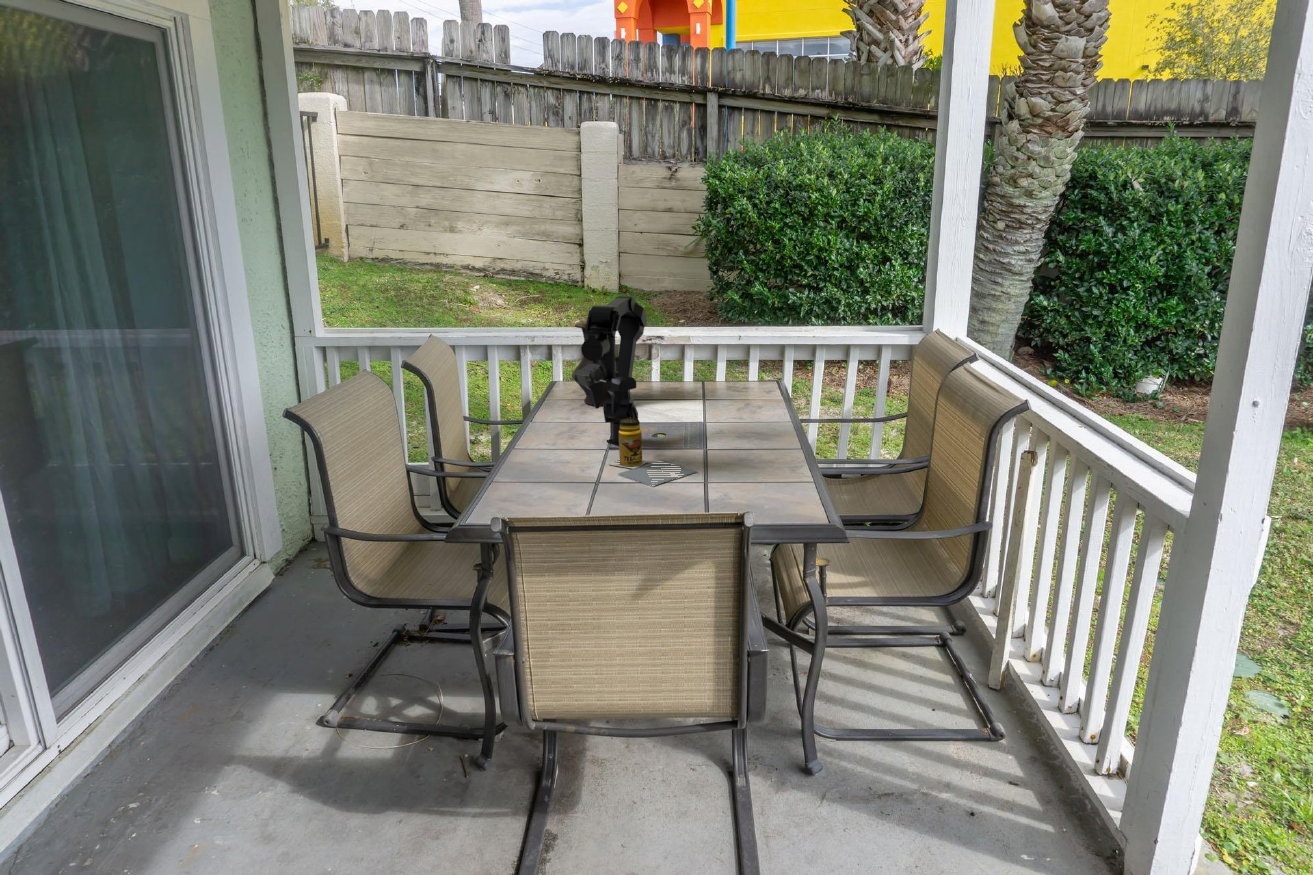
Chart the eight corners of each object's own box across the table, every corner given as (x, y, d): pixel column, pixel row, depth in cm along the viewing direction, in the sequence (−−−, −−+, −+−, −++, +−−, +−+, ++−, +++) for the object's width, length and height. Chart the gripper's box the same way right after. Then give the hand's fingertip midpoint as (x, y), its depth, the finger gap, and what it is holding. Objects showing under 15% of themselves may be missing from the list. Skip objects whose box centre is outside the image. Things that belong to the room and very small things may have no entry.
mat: (617, 474, 229) (617, 473, 229) (661, 461, 240) (661, 460, 240) (652, 486, 220) (652, 485, 220) (697, 472, 231) (697, 471, 231)
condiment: (635, 469, 232) (633, 424, 229) (607, 465, 236) (606, 421, 233) (649, 461, 238) (648, 418, 235) (622, 458, 242) (620, 415, 239)
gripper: (558, 352, 236) (560, 409, 241) (605, 363, 224) (606, 423, 228) (590, 347, 244) (591, 402, 248) (637, 356, 231) (638, 414, 235)
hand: (605, 410), depth 240 cm, fingers open, 7 cm apart
